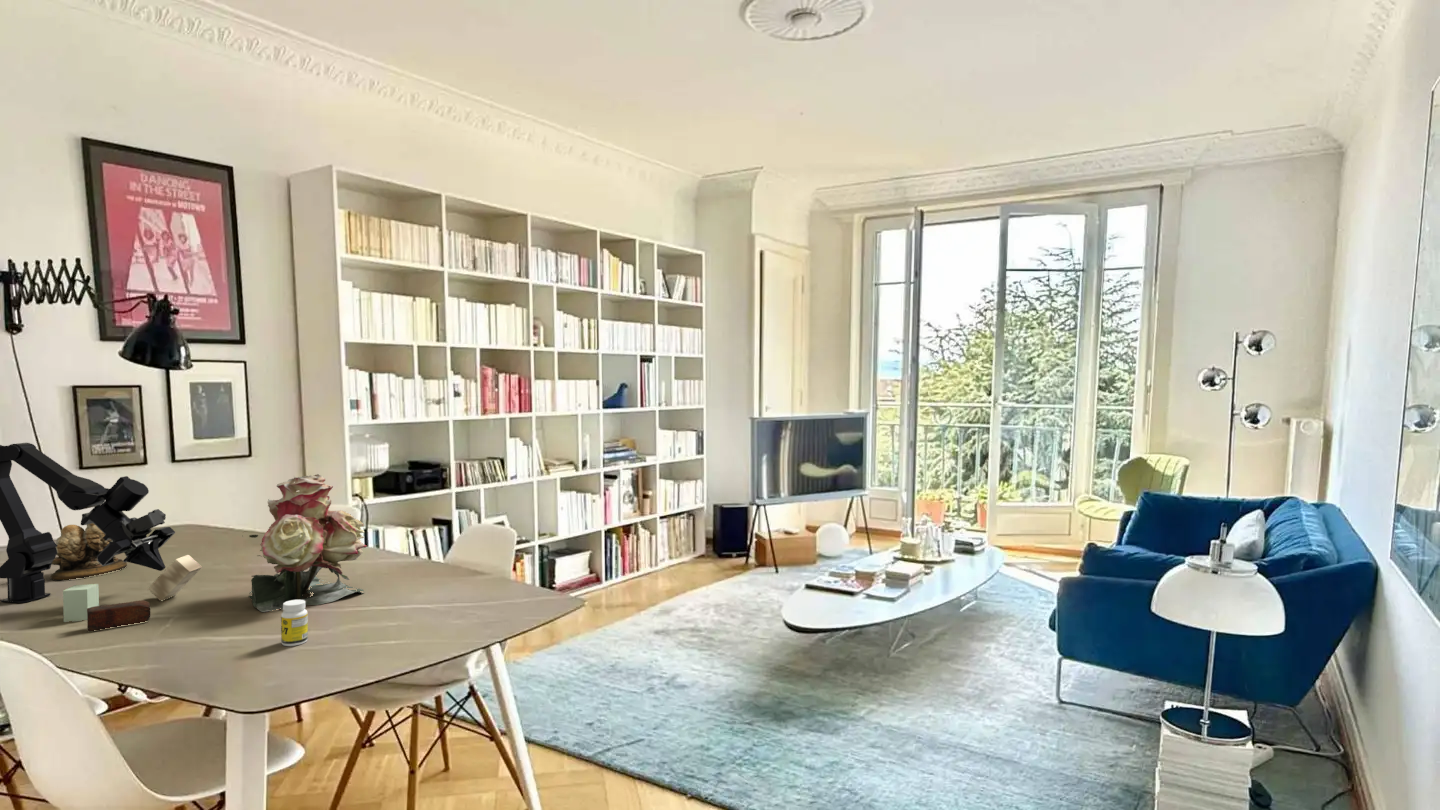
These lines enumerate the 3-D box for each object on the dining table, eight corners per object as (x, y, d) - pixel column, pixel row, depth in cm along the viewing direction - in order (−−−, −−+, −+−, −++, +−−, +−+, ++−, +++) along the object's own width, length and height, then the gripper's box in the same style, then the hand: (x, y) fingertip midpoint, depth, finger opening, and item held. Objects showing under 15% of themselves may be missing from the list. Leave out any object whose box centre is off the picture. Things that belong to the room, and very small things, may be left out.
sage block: (63, 622, 163) (62, 590, 163) (75, 615, 168) (74, 585, 167) (87, 620, 165) (87, 589, 164) (99, 614, 169) (98, 583, 169)
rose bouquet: (260, 619, 166) (258, 487, 165) (241, 590, 189) (240, 473, 188) (381, 598, 183) (380, 477, 182) (351, 573, 205) (350, 466, 204)
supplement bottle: (278, 642, 152) (278, 601, 152) (303, 636, 156) (303, 597, 155) (285, 648, 149) (284, 607, 148) (310, 642, 152) (310, 602, 152)
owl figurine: (112, 563, 214) (111, 504, 214) (141, 567, 211) (140, 507, 210) (38, 578, 197) (38, 515, 197) (68, 583, 193) (68, 518, 193)
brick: (87, 633, 157) (87, 611, 157) (87, 628, 160) (86, 607, 159) (150, 623, 164) (150, 602, 164) (149, 618, 167) (148, 598, 167)
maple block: (147, 588, 178) (175, 559, 178) (160, 583, 183) (188, 554, 183) (161, 601, 178) (189, 571, 178) (174, 596, 183) (202, 566, 183)
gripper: (108, 508, 170) (158, 555, 171) (166, 495, 189) (211, 537, 190) (74, 542, 170) (124, 589, 171) (135, 525, 189) (180, 568, 190)
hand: (163, 569), depth 180 cm, fingers closed
